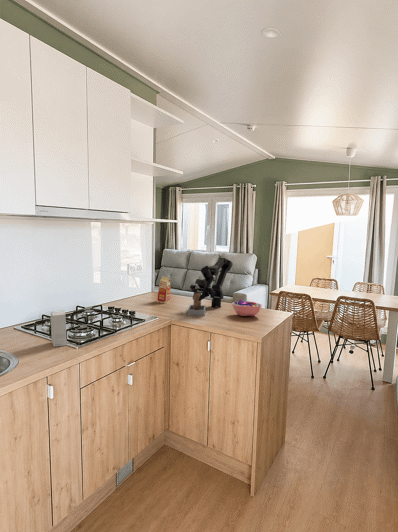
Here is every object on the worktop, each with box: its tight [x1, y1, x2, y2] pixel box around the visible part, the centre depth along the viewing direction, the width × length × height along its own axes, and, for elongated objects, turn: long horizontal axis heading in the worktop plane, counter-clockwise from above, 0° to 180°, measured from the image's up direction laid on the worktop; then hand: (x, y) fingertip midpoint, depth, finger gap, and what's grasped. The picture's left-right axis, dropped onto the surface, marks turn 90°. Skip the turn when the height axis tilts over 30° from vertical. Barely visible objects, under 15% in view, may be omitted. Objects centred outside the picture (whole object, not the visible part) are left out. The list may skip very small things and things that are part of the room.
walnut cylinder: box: [192, 292, 202, 310], centre depth 229 cm, size 5×5×11 cm
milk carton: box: [156, 275, 172, 304], centre depth 260 cm, size 9×9×20 cm
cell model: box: [231, 298, 263, 317], centre depth 225 cm, size 17×20×11 cm
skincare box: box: [50, 310, 68, 348], centre depth 159 cm, size 8×6×15 cm
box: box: [187, 304, 207, 317], centre depth 229 cm, size 11×15×4 cm
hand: (196, 300), depth 228 cm, fingers closed on walnut cylinder, 5 cm apart
